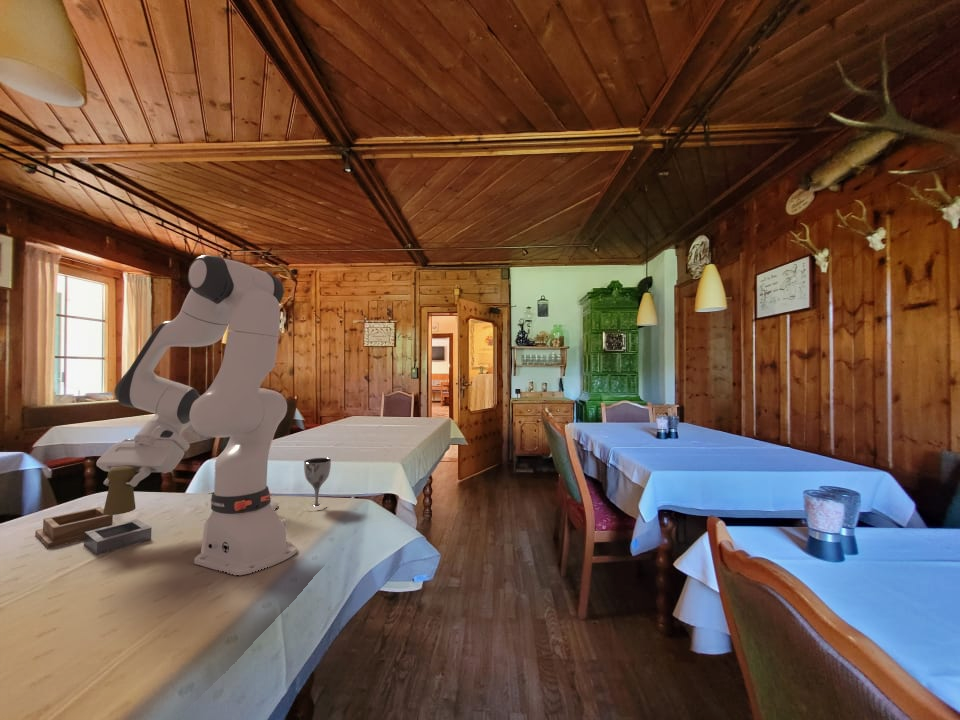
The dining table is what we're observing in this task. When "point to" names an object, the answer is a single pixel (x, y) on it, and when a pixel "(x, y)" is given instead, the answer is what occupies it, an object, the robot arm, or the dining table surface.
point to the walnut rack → (72, 526)
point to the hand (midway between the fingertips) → (118, 485)
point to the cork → (120, 491)
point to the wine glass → (317, 473)
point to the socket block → (117, 536)
